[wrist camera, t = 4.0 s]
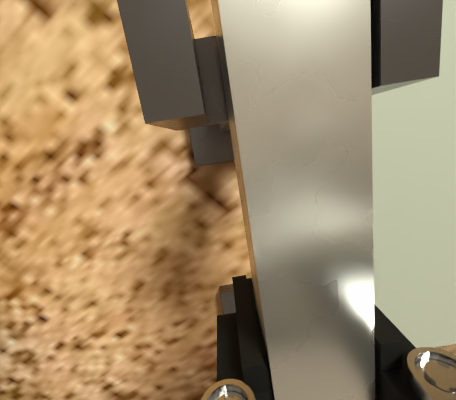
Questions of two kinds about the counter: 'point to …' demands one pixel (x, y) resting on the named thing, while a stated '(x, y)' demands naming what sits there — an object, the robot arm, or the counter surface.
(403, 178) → the board
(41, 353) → the counter surface
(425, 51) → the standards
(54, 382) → the counter surface
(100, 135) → the counter surface
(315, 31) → the rail
